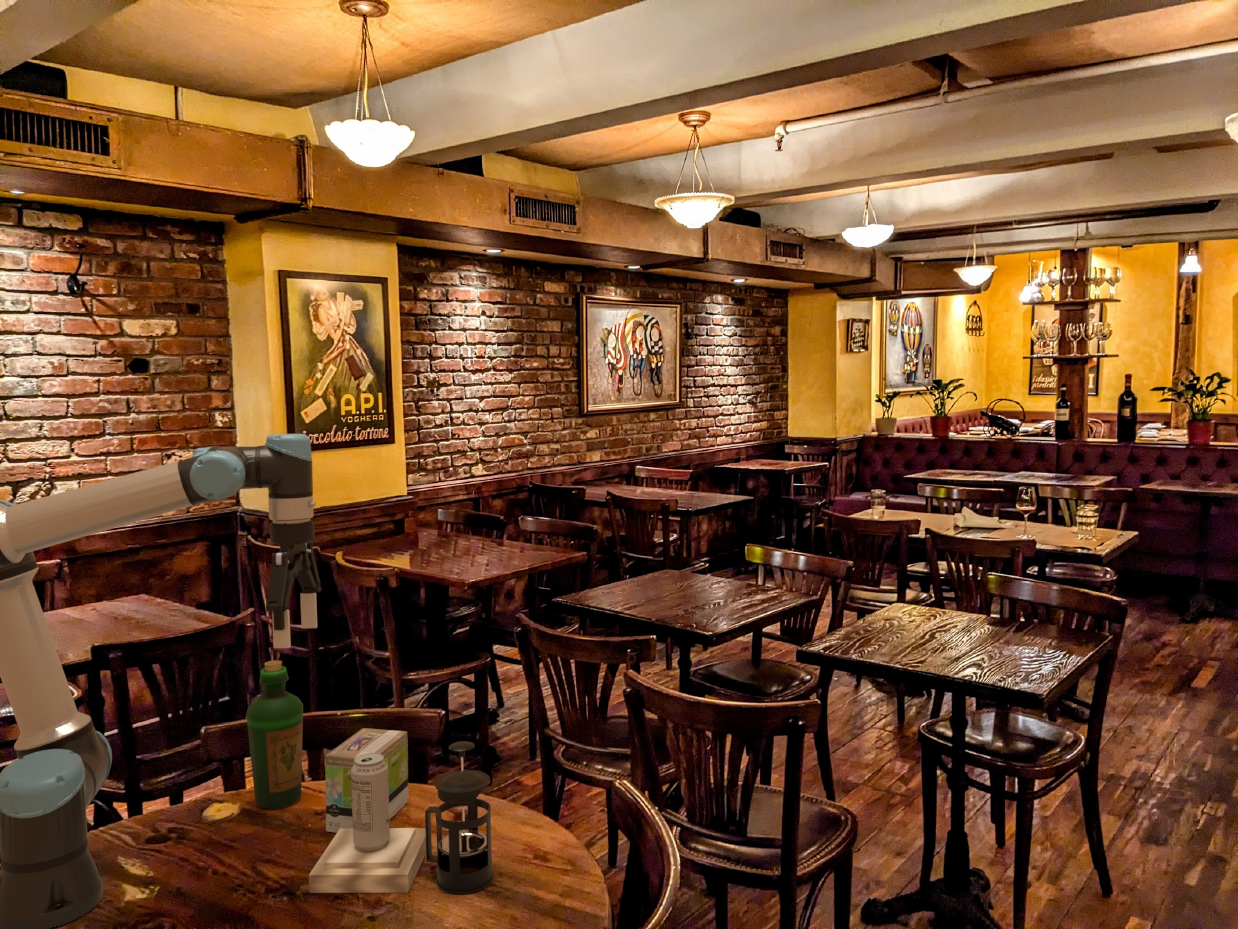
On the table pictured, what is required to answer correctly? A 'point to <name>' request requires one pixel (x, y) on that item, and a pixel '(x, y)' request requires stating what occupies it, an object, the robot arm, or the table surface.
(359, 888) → the birch base
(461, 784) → the french press
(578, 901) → the table surface
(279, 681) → the bottle
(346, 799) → the tea box
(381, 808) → the energy drink can
